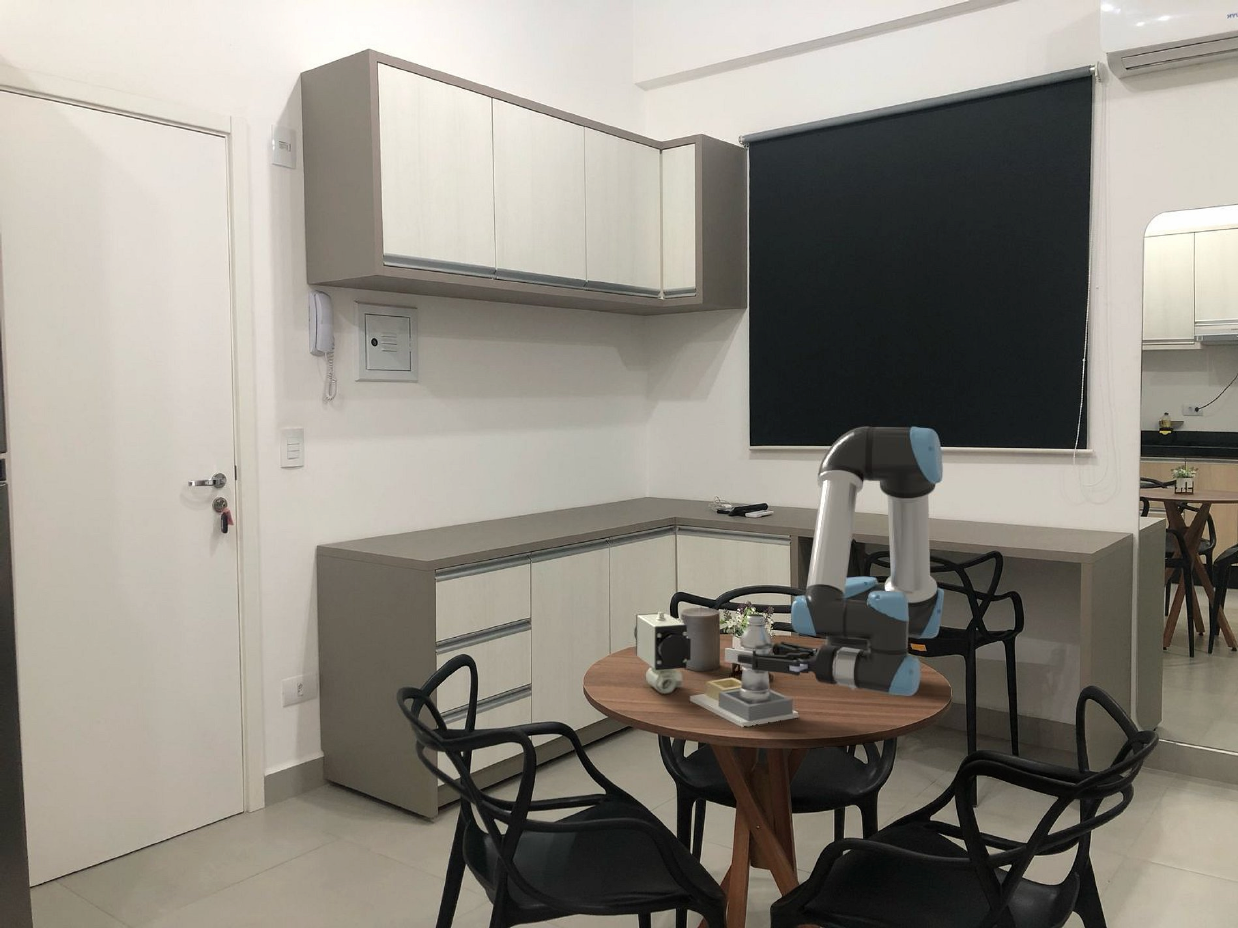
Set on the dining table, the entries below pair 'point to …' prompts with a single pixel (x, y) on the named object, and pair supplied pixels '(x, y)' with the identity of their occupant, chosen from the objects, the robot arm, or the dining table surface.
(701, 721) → the dining table surface
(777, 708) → the fitting board
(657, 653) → the ball valve
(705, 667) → the pillar candle
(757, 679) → the plastic bottle
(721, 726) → the dining table surface
